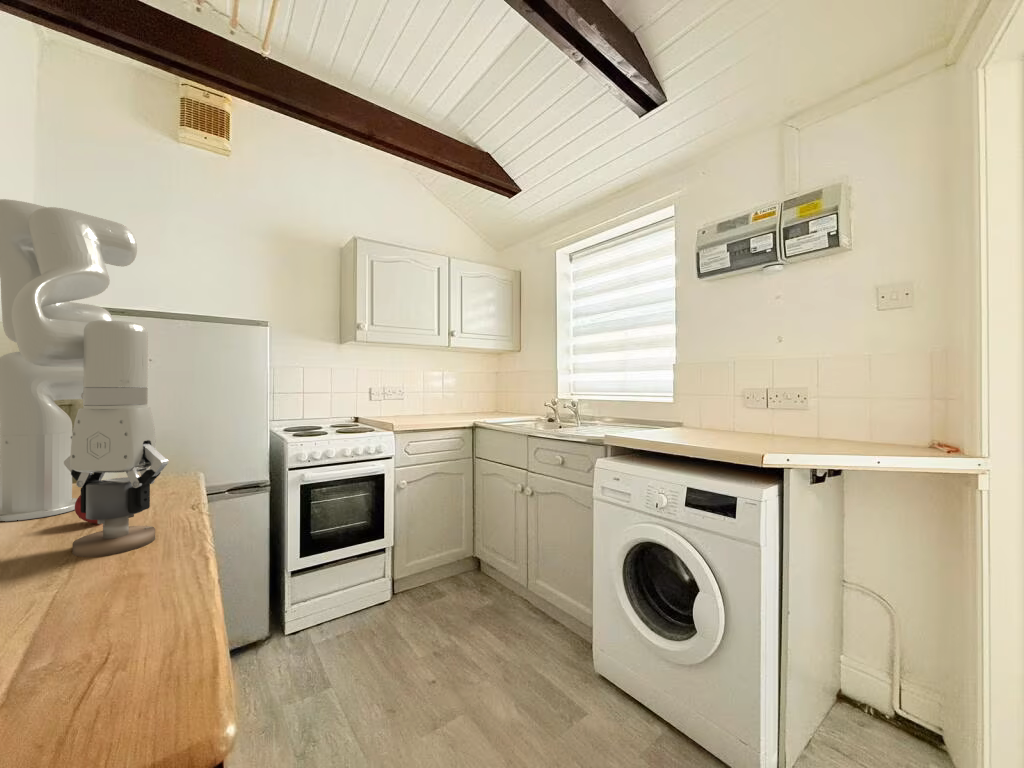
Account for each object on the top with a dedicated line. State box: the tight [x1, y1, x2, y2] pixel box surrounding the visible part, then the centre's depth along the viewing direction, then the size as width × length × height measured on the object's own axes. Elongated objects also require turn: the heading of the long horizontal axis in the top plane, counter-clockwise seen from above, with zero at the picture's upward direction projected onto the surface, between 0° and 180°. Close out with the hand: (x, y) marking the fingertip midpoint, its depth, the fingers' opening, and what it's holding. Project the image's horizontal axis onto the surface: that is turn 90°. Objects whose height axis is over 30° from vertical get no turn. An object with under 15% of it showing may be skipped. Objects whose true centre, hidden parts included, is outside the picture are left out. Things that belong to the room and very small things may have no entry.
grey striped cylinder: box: [86, 476, 142, 520], centre depth 68 cm, size 7×8×5 cm
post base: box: [72, 514, 156, 558], centre depth 68 cm, size 10×10×5 cm
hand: (115, 509), depth 67 cm, fingers closed on grey striped cylinder, 6 cm apart
